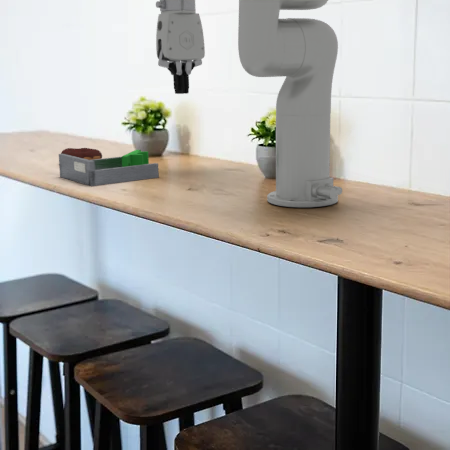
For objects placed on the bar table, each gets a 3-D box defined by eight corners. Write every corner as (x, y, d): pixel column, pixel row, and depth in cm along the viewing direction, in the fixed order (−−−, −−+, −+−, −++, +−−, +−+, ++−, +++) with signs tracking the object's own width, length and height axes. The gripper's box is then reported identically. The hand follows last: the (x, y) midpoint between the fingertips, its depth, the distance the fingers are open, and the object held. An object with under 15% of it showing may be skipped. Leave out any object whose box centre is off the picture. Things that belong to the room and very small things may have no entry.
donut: (106, 166, 185) (106, 149, 184) (65, 169, 181) (64, 152, 180) (97, 160, 194) (96, 145, 193) (57, 163, 190) (56, 147, 189)
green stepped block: (139, 177, 169) (138, 156, 168) (122, 177, 169) (121, 156, 168) (152, 168, 179) (151, 149, 178) (136, 168, 180) (136, 149, 179)
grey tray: (158, 177, 166) (157, 154, 165) (90, 186, 157) (88, 161, 156) (124, 169, 178) (123, 147, 177) (59, 176, 169) (57, 154, 168)
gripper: (157, 5, 160) (161, 95, 163) (216, 6, 168) (219, 92, 172) (139, 8, 166) (143, 95, 169) (197, 9, 174) (200, 91, 178)
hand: (181, 93), depth 171 cm, fingers closed
